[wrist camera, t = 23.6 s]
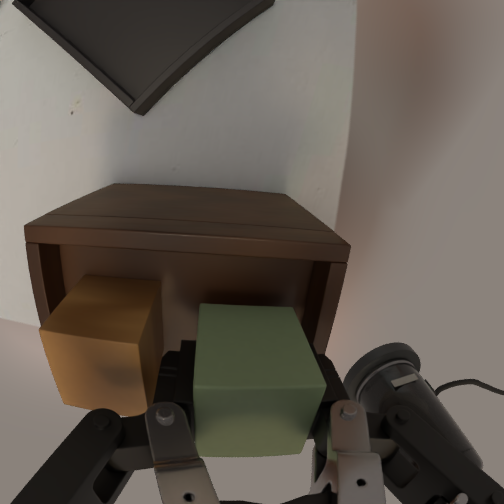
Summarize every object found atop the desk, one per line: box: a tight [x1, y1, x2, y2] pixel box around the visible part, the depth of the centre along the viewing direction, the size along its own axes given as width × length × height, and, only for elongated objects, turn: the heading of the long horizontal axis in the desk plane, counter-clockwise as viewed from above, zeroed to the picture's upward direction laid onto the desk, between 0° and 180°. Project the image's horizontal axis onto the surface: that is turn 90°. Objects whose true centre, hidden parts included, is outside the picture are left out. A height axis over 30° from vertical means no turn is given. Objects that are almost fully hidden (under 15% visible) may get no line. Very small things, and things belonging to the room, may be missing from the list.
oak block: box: [39, 275, 164, 417], centre depth 12 cm, size 4×4×5 cm
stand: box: [24, 184, 351, 357], centre depth 19 cm, size 14×10×13 cm
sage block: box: [193, 303, 327, 457], centre depth 11 cm, size 4×4×5 cm
